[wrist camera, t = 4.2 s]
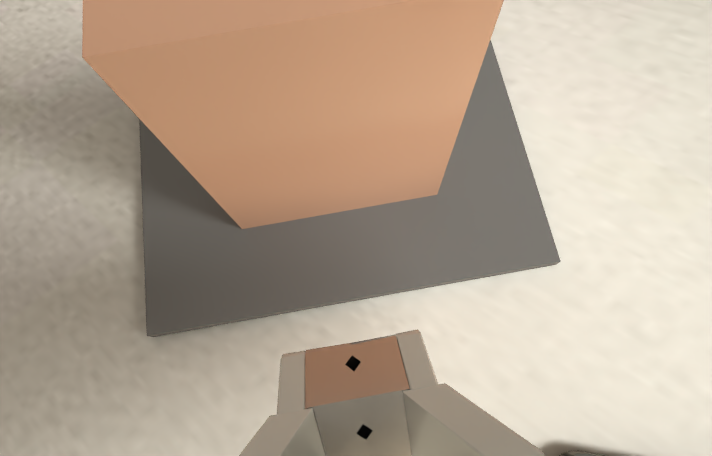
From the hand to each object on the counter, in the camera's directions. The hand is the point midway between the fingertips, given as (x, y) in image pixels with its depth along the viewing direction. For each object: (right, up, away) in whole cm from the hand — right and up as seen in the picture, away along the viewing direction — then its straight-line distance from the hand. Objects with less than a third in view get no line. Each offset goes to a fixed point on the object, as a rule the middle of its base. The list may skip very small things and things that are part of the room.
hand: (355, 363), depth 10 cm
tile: (-1, +5, +11) cm, 12 cm away
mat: (-2, +10, +14) cm, 17 cm away
